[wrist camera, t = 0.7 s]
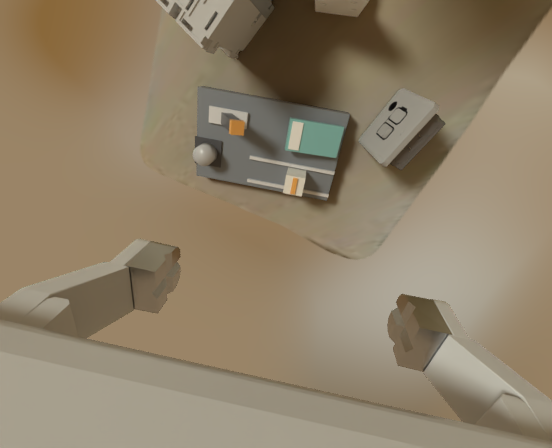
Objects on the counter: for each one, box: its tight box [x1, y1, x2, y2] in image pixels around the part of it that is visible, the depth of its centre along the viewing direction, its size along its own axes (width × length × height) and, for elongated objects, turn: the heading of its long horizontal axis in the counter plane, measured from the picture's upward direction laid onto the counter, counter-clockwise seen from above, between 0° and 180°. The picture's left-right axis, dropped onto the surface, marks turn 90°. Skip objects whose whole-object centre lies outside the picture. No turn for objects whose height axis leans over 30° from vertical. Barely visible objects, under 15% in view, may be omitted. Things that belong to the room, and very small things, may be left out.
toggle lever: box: [221, 112, 245, 136], centre depth 39 cm, size 2×2×6 cm
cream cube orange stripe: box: [283, 167, 306, 197], centre depth 44 cm, size 3×3×4 cm
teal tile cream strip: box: [285, 117, 344, 158], centre depth 41 cm, size 8×5×1 cm, turn 81°
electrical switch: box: [359, 88, 445, 170], centre depth 39 cm, size 9×5×9 cm, turn 146°
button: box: [193, 143, 217, 166], centre depth 44 cm, size 3×3×2 cm
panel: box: [195, 86, 350, 201], centre depth 45 cm, size 14×23×3 cm, turn 81°
